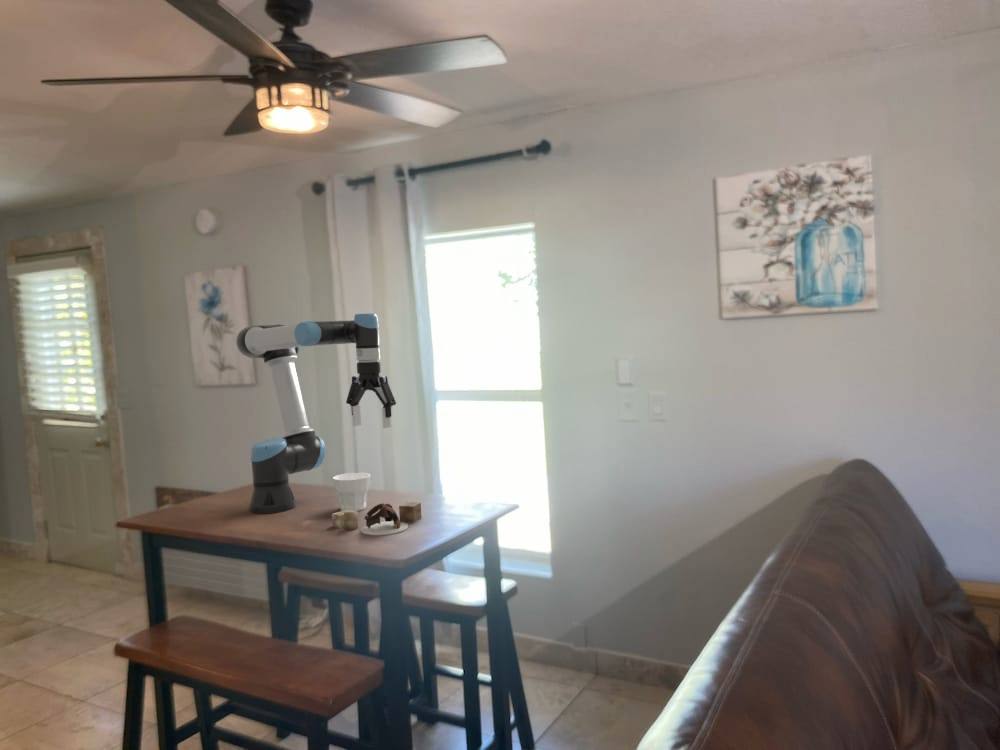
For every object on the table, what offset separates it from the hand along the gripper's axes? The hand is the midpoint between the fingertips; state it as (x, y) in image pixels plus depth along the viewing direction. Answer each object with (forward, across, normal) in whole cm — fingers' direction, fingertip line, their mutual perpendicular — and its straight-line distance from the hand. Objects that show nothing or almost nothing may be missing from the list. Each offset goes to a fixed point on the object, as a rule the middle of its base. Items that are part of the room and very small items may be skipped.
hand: (371, 426), depth 237 cm
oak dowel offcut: (+28, +7, -18) cm, 34 cm away
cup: (+29, -11, 0) cm, 31 cm away
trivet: (+28, +17, -13) cm, 35 cm away
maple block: (+28, +2, -16) cm, 33 cm away
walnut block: (+28, +17, -2) cm, 33 cm away
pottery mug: (+28, +17, -13) cm, 35 cm away
